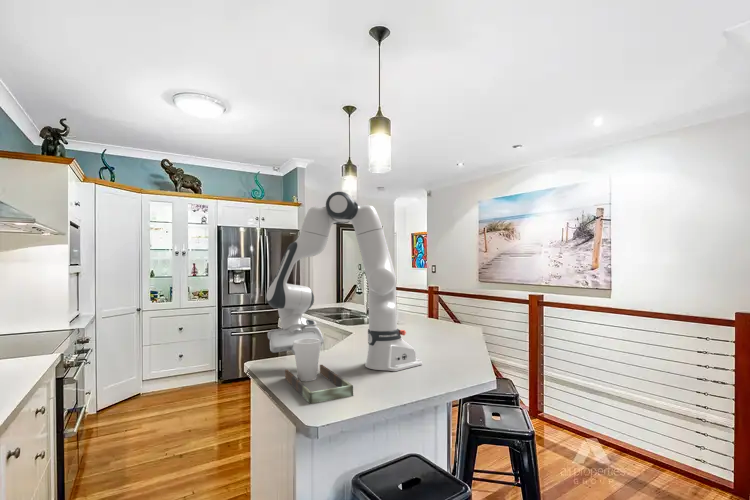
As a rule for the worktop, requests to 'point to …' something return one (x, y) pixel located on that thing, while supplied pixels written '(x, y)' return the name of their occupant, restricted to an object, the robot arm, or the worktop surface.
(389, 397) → the worktop surface
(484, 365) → the worktop surface
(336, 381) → the channel
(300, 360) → the foam cup
